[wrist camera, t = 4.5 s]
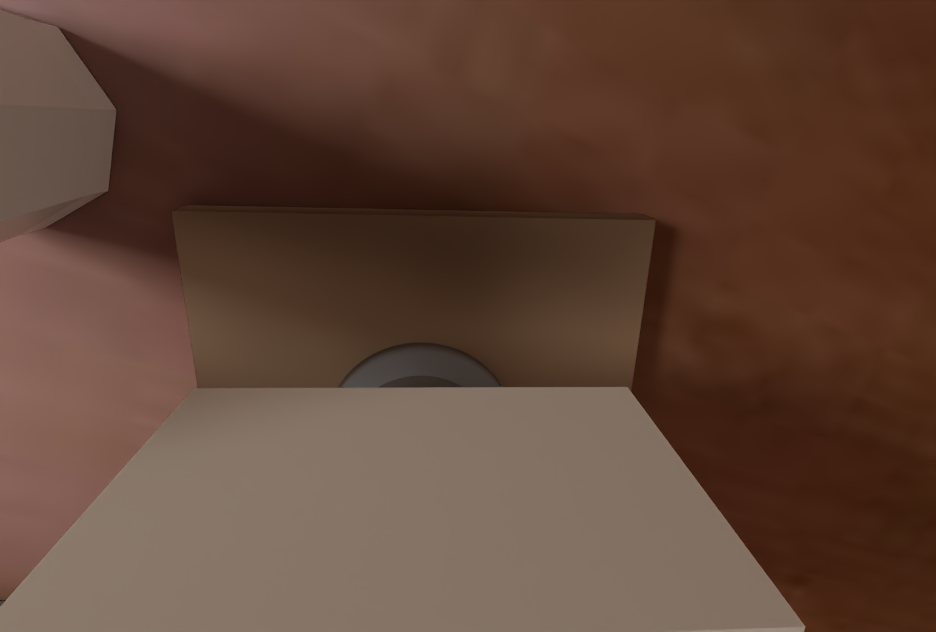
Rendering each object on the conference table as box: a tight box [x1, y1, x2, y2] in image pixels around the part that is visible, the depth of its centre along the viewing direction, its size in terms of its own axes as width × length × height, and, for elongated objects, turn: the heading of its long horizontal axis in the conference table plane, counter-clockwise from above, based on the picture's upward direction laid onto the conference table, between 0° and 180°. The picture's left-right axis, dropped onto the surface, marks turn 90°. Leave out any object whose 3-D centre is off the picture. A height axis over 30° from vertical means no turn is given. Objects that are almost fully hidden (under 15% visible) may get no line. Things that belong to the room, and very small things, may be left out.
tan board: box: [171, 205, 656, 391], centre depth 12 cm, size 12×12×10 cm
